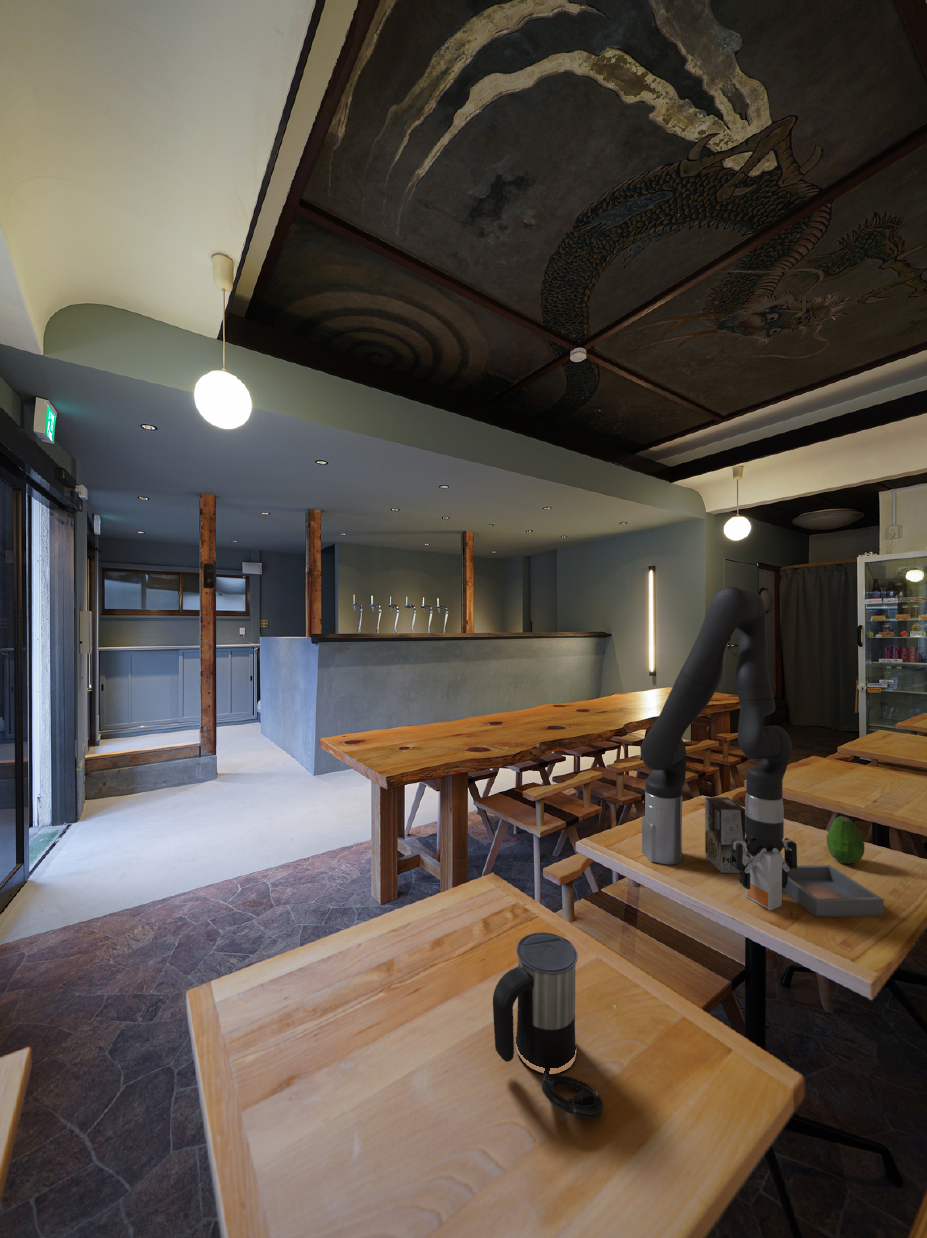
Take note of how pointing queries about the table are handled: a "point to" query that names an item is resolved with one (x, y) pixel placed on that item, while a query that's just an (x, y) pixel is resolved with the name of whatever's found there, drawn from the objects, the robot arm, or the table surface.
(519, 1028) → the milk frother
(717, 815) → the coffee box
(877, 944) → the table surface
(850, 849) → the avocado
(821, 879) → the shallow gray box
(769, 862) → the skincare box
